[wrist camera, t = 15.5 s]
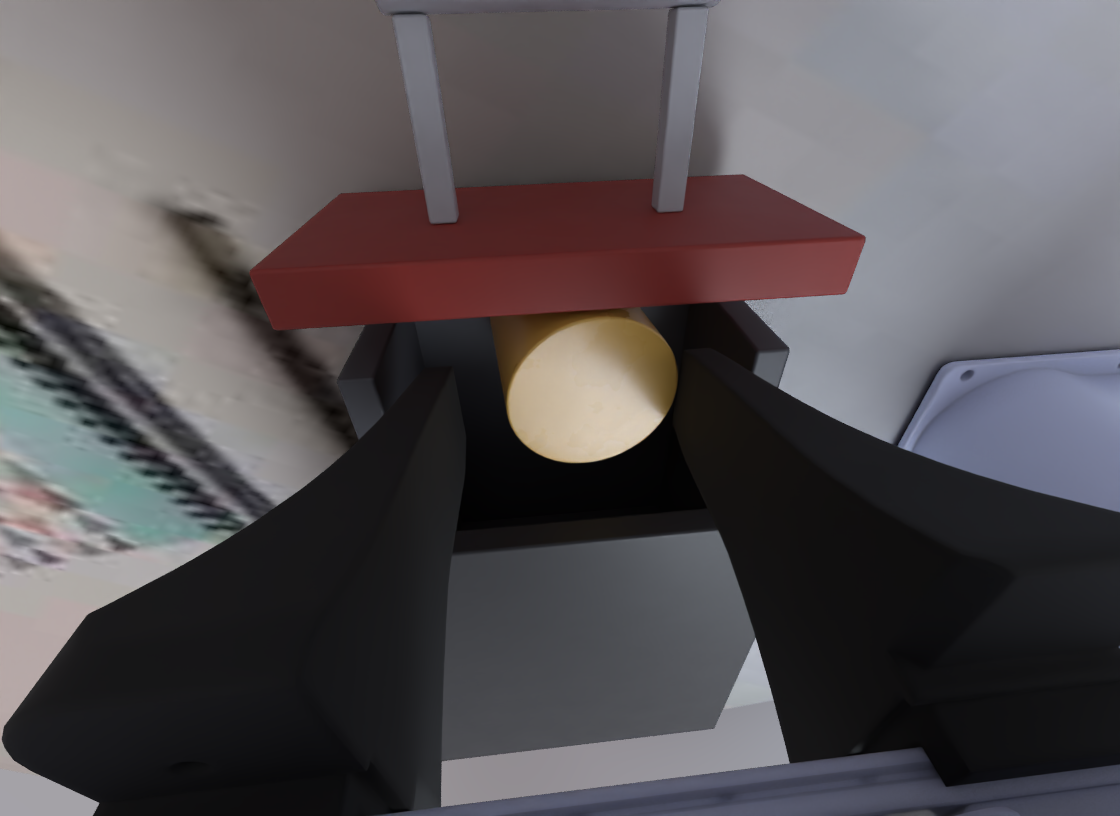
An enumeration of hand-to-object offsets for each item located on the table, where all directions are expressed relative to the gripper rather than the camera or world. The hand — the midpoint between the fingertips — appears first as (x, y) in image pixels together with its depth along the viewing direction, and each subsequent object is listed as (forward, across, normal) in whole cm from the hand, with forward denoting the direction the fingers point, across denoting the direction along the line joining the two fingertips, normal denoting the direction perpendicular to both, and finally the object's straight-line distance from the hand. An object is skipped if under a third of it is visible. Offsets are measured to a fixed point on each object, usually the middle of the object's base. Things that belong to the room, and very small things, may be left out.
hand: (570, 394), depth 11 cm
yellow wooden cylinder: (+4, 0, 0) cm, 4 cm away
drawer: (+6, 0, +1) cm, 6 cm away
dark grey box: (+6, 0, +11) cm, 13 cm away
